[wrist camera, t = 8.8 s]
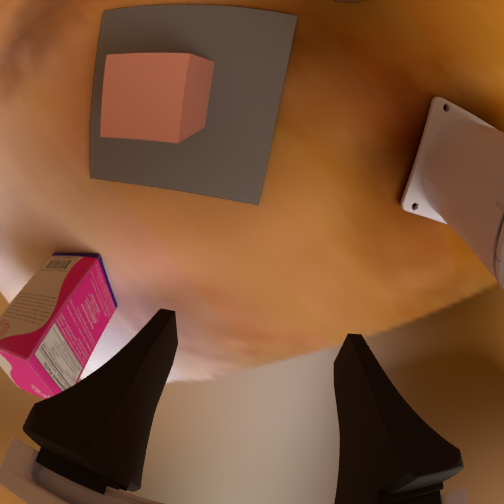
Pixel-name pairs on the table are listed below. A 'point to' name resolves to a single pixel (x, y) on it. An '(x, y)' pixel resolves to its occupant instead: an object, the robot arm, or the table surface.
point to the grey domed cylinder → (349, 1)
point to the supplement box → (56, 323)
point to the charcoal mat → (219, 105)
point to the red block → (155, 96)
